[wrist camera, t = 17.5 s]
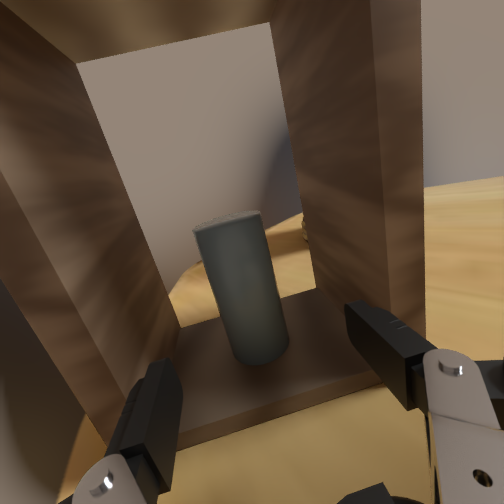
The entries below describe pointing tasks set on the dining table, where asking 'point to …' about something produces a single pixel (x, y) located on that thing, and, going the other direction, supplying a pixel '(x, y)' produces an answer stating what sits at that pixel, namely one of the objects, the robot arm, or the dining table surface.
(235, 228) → the grey cylinder
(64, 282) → the open wooden box frame
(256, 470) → the dining table surface
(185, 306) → the dining table surface
